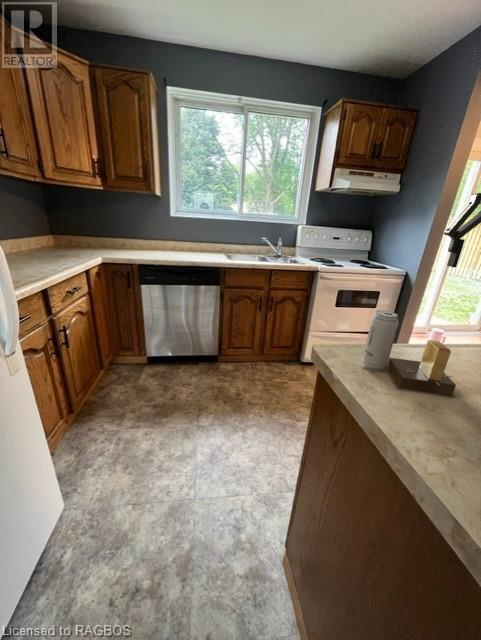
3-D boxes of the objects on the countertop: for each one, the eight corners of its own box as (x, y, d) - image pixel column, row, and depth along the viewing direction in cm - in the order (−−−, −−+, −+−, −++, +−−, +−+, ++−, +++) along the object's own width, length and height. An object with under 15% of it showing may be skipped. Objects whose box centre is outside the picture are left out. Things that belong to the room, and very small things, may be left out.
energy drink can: (359, 359, 76) (370, 308, 70) (382, 362, 75) (395, 311, 69) (364, 370, 70) (376, 316, 65) (389, 373, 69) (404, 318, 64)
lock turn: (419, 367, 67) (428, 338, 64) (430, 369, 66) (439, 340, 64) (428, 379, 62) (438, 348, 59) (440, 381, 61) (451, 350, 58)
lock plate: (435, 374, 70) (439, 363, 69) (459, 400, 60) (464, 388, 59) (386, 367, 72) (389, 356, 71) (401, 392, 62) (404, 380, 61)
